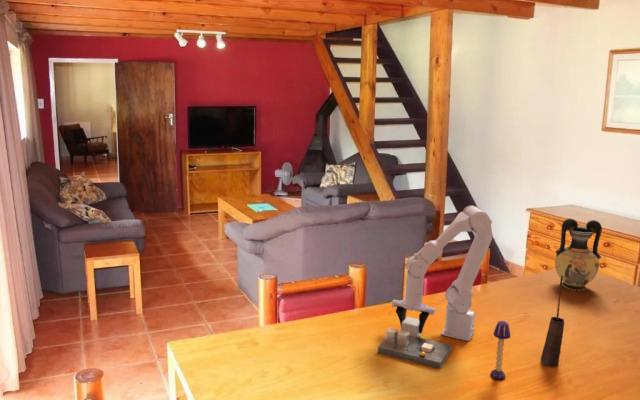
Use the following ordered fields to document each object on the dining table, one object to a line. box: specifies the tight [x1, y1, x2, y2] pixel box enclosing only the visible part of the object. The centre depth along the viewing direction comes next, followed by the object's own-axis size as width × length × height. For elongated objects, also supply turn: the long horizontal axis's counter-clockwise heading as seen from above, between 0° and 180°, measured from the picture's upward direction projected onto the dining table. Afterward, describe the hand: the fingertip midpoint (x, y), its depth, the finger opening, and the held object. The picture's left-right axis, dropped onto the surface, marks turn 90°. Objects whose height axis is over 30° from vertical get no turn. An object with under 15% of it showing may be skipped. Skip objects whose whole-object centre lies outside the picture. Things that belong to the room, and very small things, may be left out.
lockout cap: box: [400, 316, 422, 338], centre depth 187 cm, size 6×6×4 cm
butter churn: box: [540, 275, 565, 368], centre depth 166 cm, size 9×10×28 cm
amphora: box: [554, 218, 603, 292], centre depth 232 cm, size 18×17×30 cm
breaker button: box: [421, 343, 434, 353], centre depth 173 cm, size 3×3×3 cm
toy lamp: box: [489, 320, 511, 381], centre depth 160 cm, size 5×5×17 cm
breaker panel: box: [377, 327, 453, 370], centre depth 174 cm, size 20×13×6 cm, turn 62°
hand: (411, 330), depth 187 cm, fingers closed on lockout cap, 6 cm apart
